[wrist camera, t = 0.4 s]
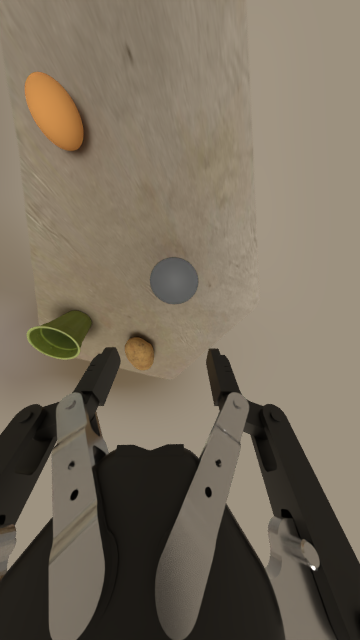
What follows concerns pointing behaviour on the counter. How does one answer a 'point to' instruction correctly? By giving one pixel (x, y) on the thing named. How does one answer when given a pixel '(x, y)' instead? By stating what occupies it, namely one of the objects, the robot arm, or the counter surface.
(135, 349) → the potato
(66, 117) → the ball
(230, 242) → the counter surface
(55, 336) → the plant pot
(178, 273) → the disc
